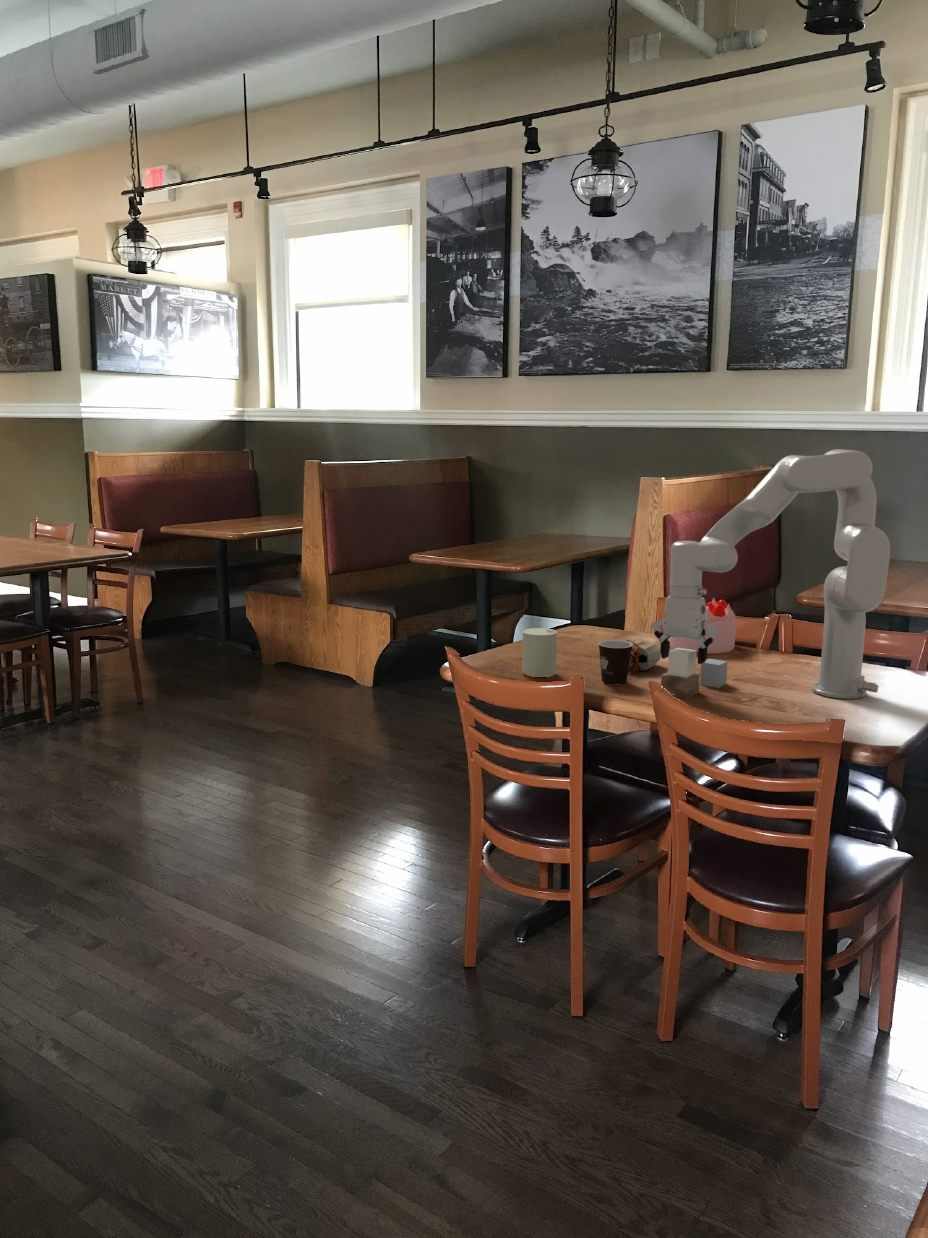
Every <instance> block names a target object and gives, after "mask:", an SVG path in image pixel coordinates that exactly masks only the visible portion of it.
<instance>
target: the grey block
mask: <svg viewBox="0 0 928 1238" xmlns="http://www.w3.org/2000/svg"><path fill="white" fill-rule="evenodd" d="M728 663H729V662H728V661H727V660H721V659H714V658H707V660H706V661H705V662H704V663H702V664H700V672H699V673H700V677H699V686H704V687H705V686H706V687H709V688H717V689H719V688H722V687H723V686H725V685H727V676H728V674H727V673H728Z"/></svg>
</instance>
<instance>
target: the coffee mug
mask: <svg viewBox="0 0 928 1238" xmlns="http://www.w3.org/2000/svg"><path fill="white" fill-rule="evenodd" d="M625 641H626V640H602V641H600V642H598V650H599V663H600V673H601V674H600V675H601V682H602V681H603V682H604V683H603V682H602V683H603V684H605V683H608V684H607V685H609V684H623V685H626V684H627V683H628V677H629V674H628V673H629V672H630V671H631V670H632V669H633V668H634V667H635V665H636V659H635V657H634V655H633V654H631V652H632V646H633V644H631V643H629V642H625ZM631 657H632V658H633V666H632V667H631V668H630V667H629V665H630V659H631ZM632 671H633V670H632ZM632 671H631V672H632ZM631 672H630V673H631ZM625 683H626V684H625Z"/></svg>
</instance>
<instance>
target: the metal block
mask: <svg viewBox="0 0 928 1238" xmlns="http://www.w3.org/2000/svg"><path fill="white" fill-rule="evenodd" d="M660 680H661V681H660V686H661V685H662V686H663V688H665V689H667V691H669V692H670V693H671V694H674V695H675V696H674V697H676V696H677V697H676V698H682V699H689V698H691V697H693V696H694V695H697V694H698V693H700V672H695V674H694V675H692V676H690V677H688V678H684V677H678V676H672V675H668V671H666V672H665V673H663V674H661V676H660Z"/></svg>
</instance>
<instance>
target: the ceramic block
mask: <svg viewBox="0 0 928 1238" xmlns="http://www.w3.org/2000/svg"><path fill="white" fill-rule="evenodd" d="M696 663H697V654H696V650H691V649H684V648H678V647H677V648H675V649H671V650H670V651H669V657H668V665H667V672H668V675H672V676H678V677H684V678H688V677H690V676H692V675H694V674H695V673H696V665H697V664H696Z"/></svg>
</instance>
